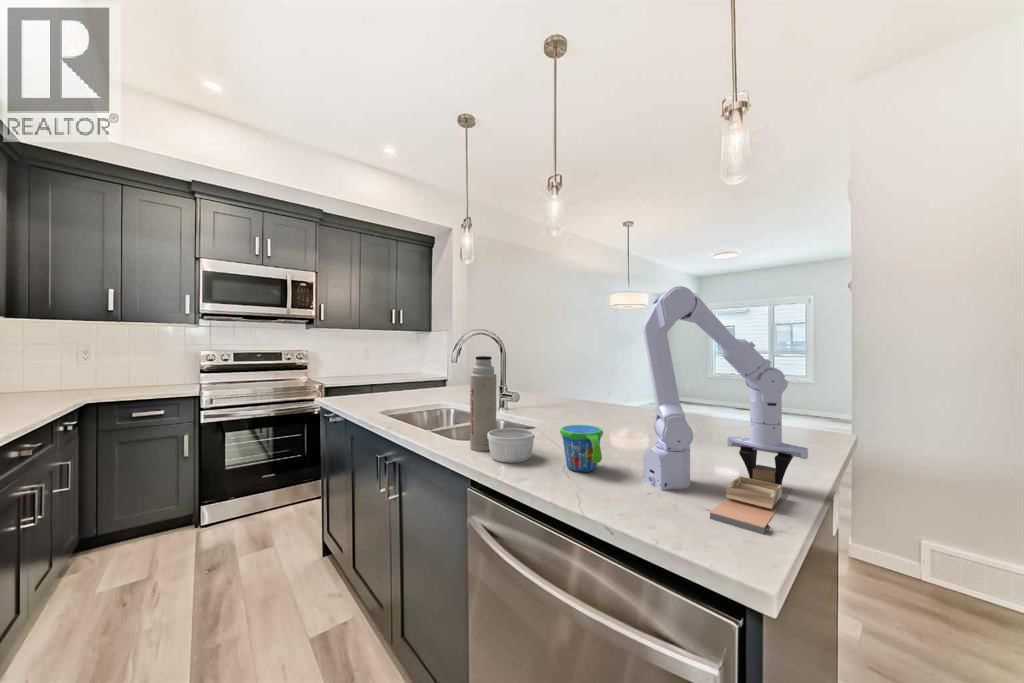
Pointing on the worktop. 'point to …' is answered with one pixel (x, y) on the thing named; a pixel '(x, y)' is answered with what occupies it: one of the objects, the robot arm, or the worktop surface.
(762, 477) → the block
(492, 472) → the worktop surface
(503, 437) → the ramekin
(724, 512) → the track
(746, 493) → the shallow wooden tray
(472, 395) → the thermos bottle
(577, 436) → the snack cup
